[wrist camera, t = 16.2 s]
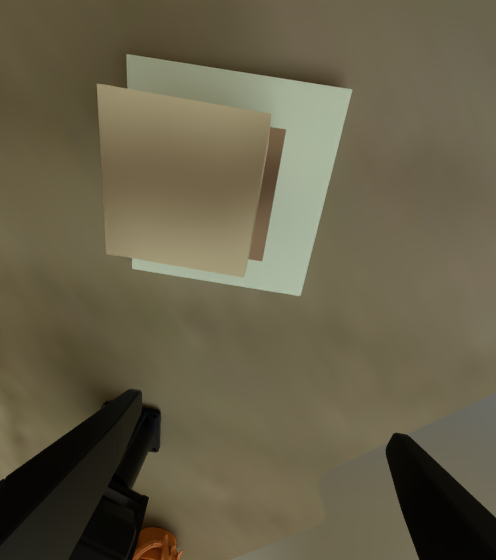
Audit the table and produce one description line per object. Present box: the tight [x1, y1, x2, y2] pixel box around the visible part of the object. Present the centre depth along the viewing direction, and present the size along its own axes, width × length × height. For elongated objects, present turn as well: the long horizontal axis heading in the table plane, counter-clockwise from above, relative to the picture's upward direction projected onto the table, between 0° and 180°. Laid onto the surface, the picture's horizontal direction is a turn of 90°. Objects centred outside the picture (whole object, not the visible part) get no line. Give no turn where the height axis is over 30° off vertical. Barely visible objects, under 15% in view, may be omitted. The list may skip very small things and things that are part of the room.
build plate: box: [126, 54, 352, 296], centre depth 17 cm, size 14×14×1 cm
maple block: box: [97, 84, 271, 278], centre depth 10 cm, size 5×5×5 cm
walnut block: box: [248, 127, 286, 261], centre depth 15 cm, size 6×6×5 cm
